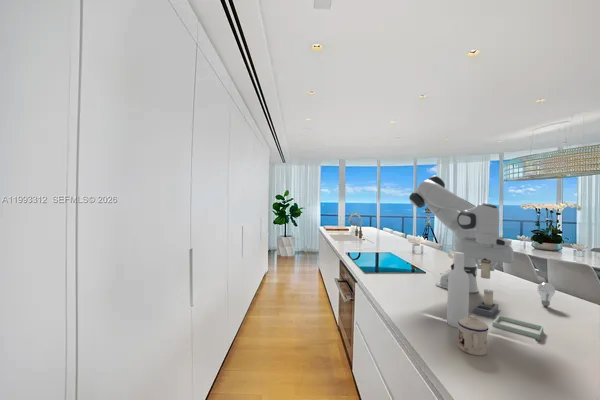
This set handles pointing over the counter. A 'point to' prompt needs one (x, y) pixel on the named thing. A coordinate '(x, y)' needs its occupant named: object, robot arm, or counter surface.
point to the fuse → (488, 297)
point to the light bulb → (545, 293)
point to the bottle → (457, 292)
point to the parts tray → (535, 335)
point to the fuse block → (486, 310)
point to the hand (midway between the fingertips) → (485, 269)
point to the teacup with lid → (472, 336)
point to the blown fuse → (485, 268)
